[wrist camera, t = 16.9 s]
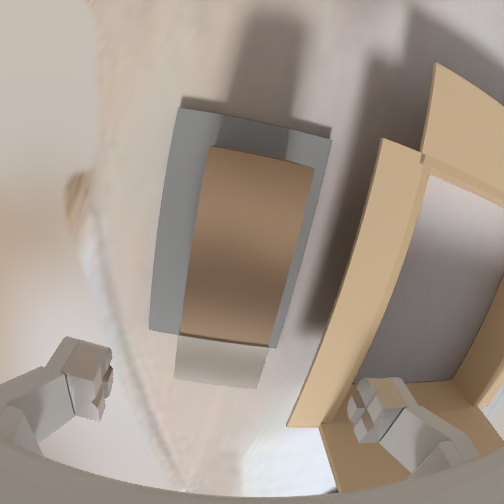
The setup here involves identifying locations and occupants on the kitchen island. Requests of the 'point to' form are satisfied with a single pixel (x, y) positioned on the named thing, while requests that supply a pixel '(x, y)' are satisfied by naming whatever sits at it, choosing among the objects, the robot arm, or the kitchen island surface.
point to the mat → (188, 193)
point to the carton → (385, 277)
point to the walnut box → (239, 264)
